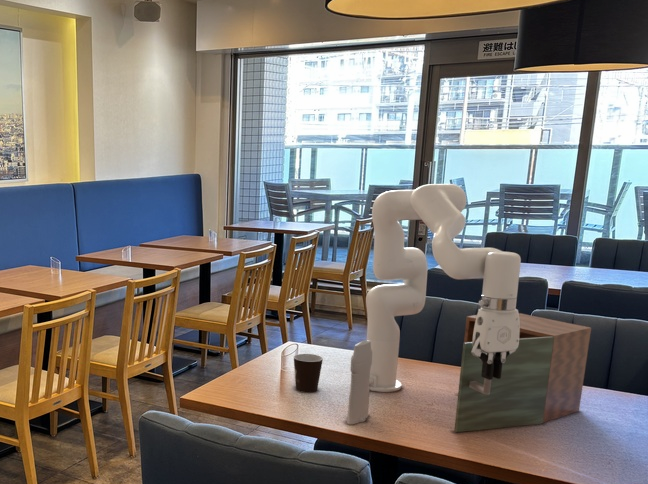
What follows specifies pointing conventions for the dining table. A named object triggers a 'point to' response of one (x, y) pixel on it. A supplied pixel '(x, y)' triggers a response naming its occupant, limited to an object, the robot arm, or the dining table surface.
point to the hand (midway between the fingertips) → (490, 377)
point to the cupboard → (556, 360)
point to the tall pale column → (360, 382)
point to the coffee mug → (307, 372)
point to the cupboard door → (504, 388)
